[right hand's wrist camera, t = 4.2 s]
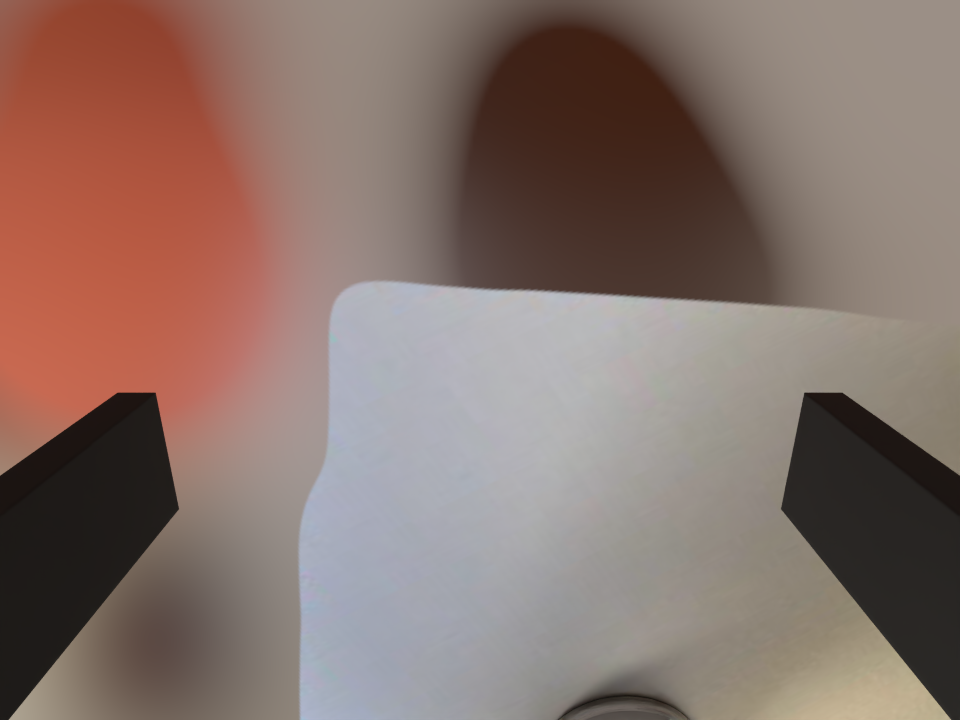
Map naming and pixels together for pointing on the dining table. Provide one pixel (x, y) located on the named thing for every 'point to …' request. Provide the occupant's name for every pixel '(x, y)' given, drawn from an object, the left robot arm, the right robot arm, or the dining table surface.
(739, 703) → the dining table surface
